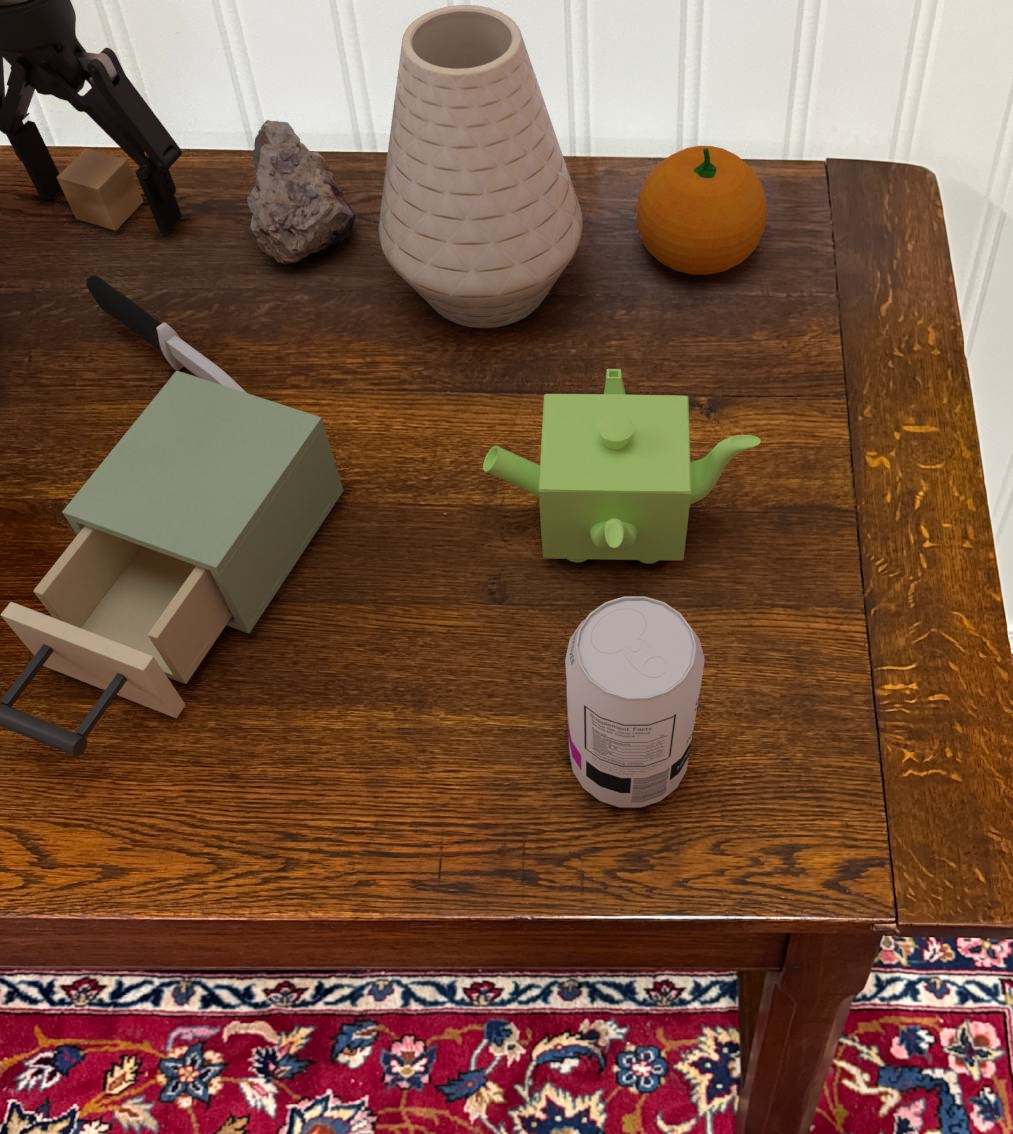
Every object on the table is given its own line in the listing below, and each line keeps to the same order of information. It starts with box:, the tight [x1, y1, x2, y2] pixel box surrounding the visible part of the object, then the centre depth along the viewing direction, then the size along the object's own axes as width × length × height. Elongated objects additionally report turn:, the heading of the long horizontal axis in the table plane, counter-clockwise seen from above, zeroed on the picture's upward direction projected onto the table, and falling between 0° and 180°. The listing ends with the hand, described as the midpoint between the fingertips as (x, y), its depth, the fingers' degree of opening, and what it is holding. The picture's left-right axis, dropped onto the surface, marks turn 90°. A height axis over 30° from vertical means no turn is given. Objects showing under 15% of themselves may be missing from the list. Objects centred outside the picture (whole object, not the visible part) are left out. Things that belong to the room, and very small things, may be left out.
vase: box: [377, 4, 584, 329], centre depth 93 cm, size 17×17×23 cm
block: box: [57, 147, 144, 232], centre depth 107 cm, size 5×5×5 cm
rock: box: [246, 119, 357, 265], centre depth 103 cm, size 9×12×10 cm
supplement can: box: [564, 595, 706, 808], centre depth 72 cm, size 8×8×15 cm
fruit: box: [636, 145, 768, 276], centre depth 101 cm, size 12×12×10 cm
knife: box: [85, 275, 247, 393], centre depth 95 cm, size 25×2×5 cm, turn 50°
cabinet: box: [61, 370, 344, 634], centre depth 85 cm, size 15×13×9 cm
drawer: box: [0, 526, 233, 758], centre depth 80 cm, size 20×11×7 cm, turn 157°
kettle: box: [482, 368, 762, 564], centre depth 84 cm, size 15×14×11 cm
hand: (111, 207), depth 108 cm, fingers open, 13 cm apart
